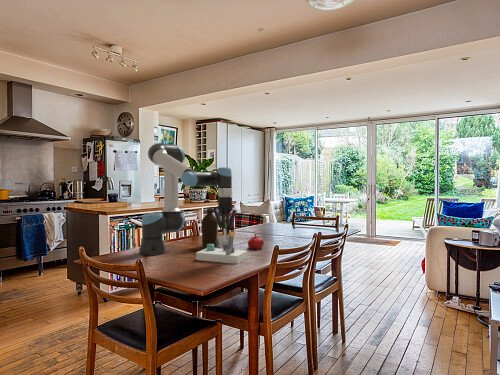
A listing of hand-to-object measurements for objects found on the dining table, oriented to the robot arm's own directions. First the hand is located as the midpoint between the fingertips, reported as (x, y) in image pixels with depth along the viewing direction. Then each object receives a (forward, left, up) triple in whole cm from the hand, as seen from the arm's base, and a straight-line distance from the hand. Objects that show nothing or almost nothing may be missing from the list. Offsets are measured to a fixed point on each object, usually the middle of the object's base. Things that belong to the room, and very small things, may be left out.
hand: (226, 241), depth 180 cm
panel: (-4, +3, -11) cm, 12 cm away
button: (-12, +5, -9) cm, 15 cm away
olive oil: (-26, +32, -11) cm, 43 cm away
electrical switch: (-11, +20, -11) cm, 25 cm away
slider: (-3, +7, -7) cm, 10 cm away
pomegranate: (+4, +36, -11) cm, 38 cm away
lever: (+2, 0, -6) cm, 6 cm away
